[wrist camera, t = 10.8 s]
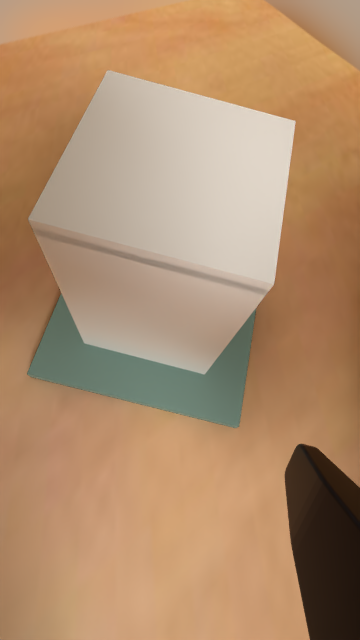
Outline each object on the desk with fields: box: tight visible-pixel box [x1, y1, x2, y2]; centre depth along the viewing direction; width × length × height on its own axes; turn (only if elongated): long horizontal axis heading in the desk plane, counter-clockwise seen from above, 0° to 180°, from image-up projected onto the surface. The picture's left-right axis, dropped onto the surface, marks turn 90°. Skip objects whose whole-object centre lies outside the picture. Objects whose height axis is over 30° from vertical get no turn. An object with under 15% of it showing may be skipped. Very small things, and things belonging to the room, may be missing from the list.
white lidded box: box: [28, 70, 296, 374], centre depth 13 cm, size 6×6×9 cm
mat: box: [27, 293, 256, 428], centre depth 18 cm, size 10×10×1 cm
